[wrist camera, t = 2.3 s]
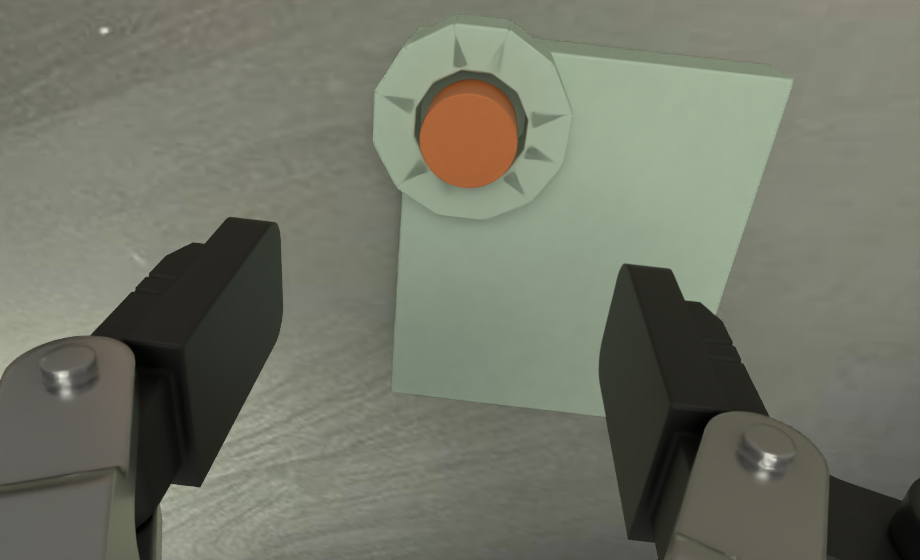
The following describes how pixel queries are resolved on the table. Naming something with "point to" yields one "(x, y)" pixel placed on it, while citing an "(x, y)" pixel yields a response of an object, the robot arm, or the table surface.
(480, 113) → the button
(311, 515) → the table surface
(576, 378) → the scale
